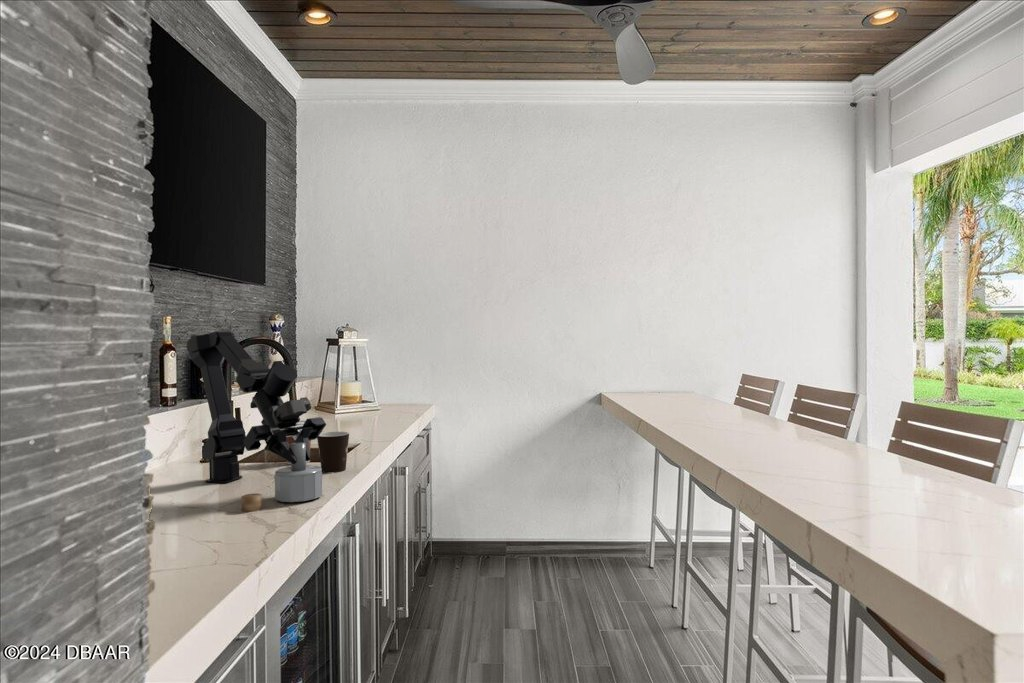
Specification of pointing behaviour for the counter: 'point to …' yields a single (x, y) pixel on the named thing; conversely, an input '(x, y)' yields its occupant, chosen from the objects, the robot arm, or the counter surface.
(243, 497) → the walnut puck
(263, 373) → the robot arm
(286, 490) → the slate cloche
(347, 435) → the coffee mug
